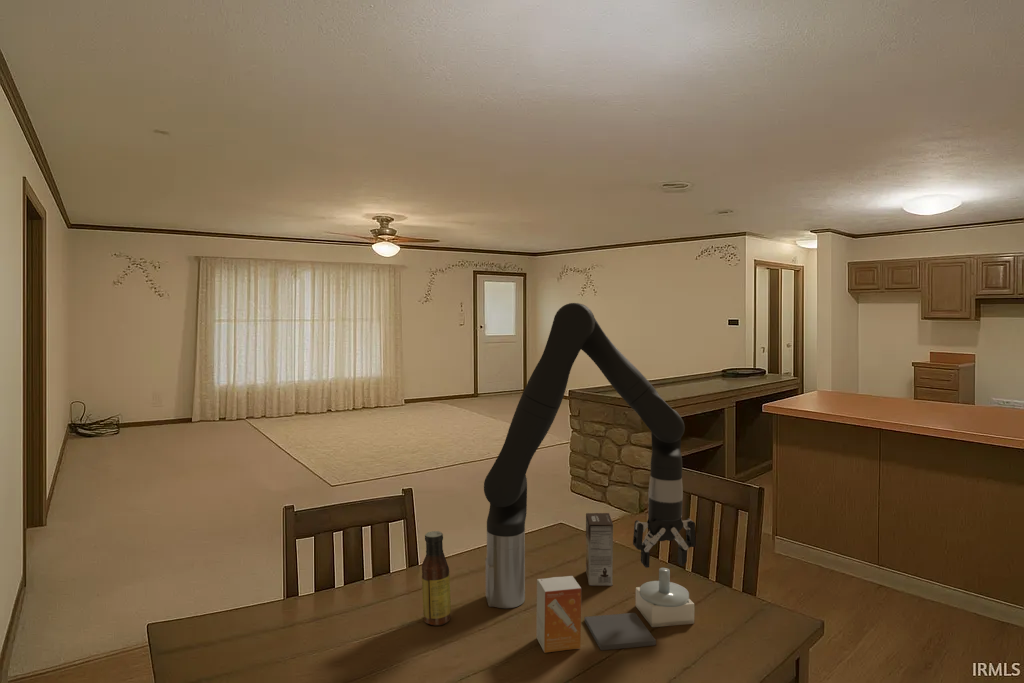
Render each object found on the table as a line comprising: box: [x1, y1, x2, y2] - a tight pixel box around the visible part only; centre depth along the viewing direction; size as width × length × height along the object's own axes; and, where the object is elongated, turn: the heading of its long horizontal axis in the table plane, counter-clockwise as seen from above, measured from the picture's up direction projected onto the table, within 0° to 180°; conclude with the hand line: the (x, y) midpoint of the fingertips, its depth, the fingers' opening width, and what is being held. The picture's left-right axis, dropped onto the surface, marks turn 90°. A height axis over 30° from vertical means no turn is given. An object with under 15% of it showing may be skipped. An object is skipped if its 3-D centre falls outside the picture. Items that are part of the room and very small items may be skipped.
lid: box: [639, 567, 690, 607], centre depth 139 cm, size 11×11×6 cm
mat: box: [584, 612, 657, 651], centre depth 131 cm, size 12×12×1 cm
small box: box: [536, 575, 582, 654], centre depth 127 cm, size 8×6×13 cm
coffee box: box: [585, 512, 614, 586], centre depth 158 cm, size 9×6×16 cm
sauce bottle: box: [421, 530, 452, 626], centre depth 136 cm, size 7×6×20 cm
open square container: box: [635, 586, 695, 628], centre depth 139 cm, size 10×10×4 cm
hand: (663, 565), depth 139 cm, fingers open, 8 cm apart
